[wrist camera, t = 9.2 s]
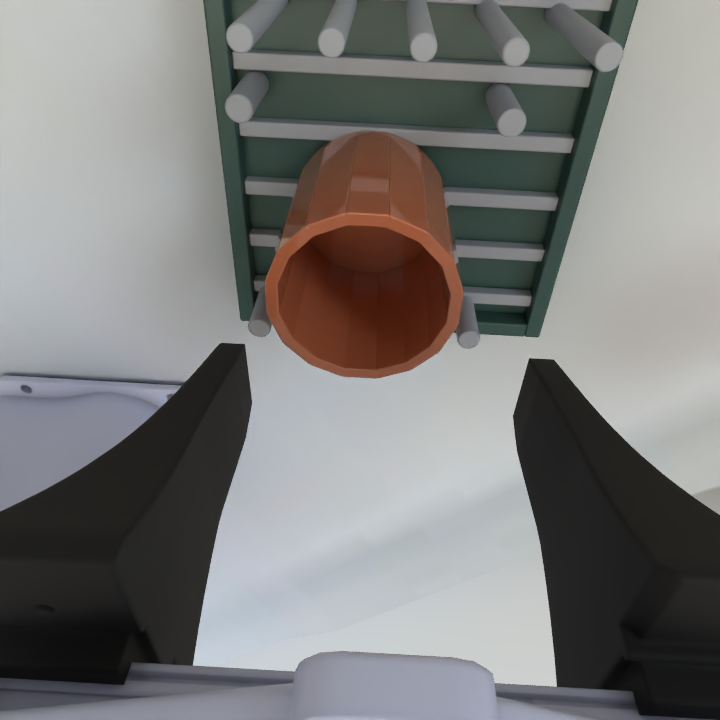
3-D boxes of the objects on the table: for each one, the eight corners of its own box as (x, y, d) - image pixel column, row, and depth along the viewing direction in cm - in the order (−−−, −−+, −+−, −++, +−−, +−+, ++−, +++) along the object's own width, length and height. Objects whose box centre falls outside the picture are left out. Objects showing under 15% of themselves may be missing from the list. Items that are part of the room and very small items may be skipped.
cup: (297, 269, 22) (271, 373, 17) (291, 126, 19) (258, 207, 14) (436, 277, 22) (447, 383, 17) (456, 134, 19) (477, 219, 14)
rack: (248, 299, 25) (211, 402, 20) (207, -89, 16) (128, -75, 11) (531, 314, 24) (566, 423, 20) (638, -68, 16) (743, -46, 11)
